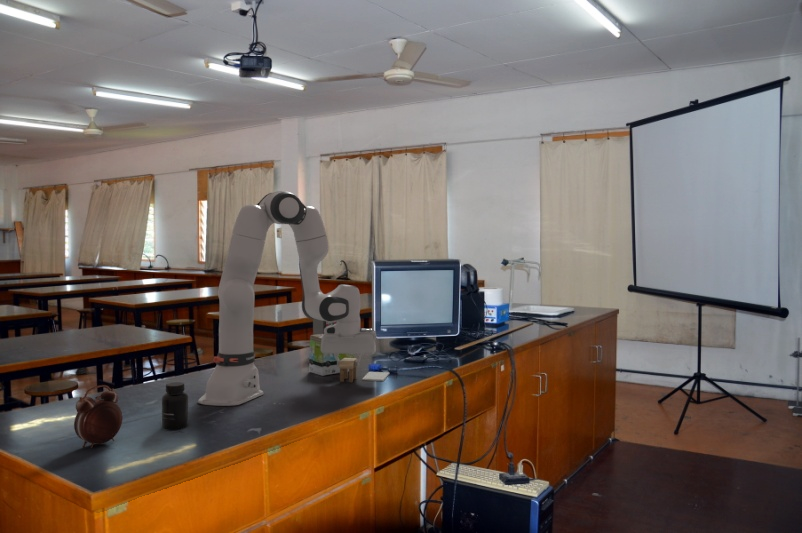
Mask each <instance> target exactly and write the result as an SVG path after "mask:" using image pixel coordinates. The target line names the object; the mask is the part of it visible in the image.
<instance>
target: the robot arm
mask: <svg viewBox="0 0 802 533" xmlns="http://www.w3.org/2000/svg"><path fill="white" fill-rule="evenodd" d="M273 224H277V225H289V227H290V228H291V230H292V232H293V236H294V241H295V245H296V248H297V255H298V267H299V268H298V269H299V275H300V281H301V288H302V300H301V310H302V313H303V314H304V316H306V318H308V319H310V320H312V321H313V320H322V321H327V322H331V321H335V320H337V321H336V324H333V325H330V326H327V327H326V328H325V329H324V333H325V334H324V335H323V337H322V340H321V352H322V353H334V357H335V359H336V360H337V366H339V361H341V360H339V358H338V356H339V354H354V355H357V357H358V358H357V361H355V366H356V367H360V361H361V360H362V358H363V355H374V354H376V351H377V346H376V340H377V331H376V330H374V329H372V328H361V316H360V313H361V312H360V311H361V302H362V301H361V294H360V290H359V288H358V287H357V286H355V285H349V284H338V286H337V287H335V289H333V290H332V291H329V292H327V293H323V291H322V290H321V288H320V282H319V275H318V267H319V264H320V263H322V262H321V261H323V260H324V259H325V258H326V257H327V255H328V253H329V240H328V235H327V232H326V228H325V225H324V222H323V219H322V217H321V214H320V212H319V210H318V209H317V208H316V207H314V206H310V205H305V204H304V203H303V202H302V201H301V200H300V198H299V197H298V196H297V195H296V194H294V193H292V192H290V191H282V190H278V191H273V192H269V193H268V194H266V195H264V196H263V197H262V198H261V199H260V201H258V203H257V204H246V205H244V206H242V207H241V208H240V210H239V211H238V215H237V217H236V219H235V222H234V225H233V230H232V234H231V237H230V241H229V246H228V251H227V255H226V259H225V262H224V265H223V270H222V274H221V277H220V281H219V286H218V288H217V296H218V299H219V309H218V310H219V312H218V313H219V320H218V321H219V322H218V353H217V355H216V356H213V359H212V362H213V363H215V364H216V366H215V367H214V370H213V371H212V372H211V375H210V376H209V379H208V380H207V381H206V383H205V384H206V386H205V393H204V394H203V395H201V397H200V398H199V399H198V401H197V403H198V404H201V405H206V406H223V407H225V406H227V407H228V406H229V407H230V406H239V405H241V404H245V403H247V402H249V401H251V400H253V399H256V398H258V397H261V396H263V395H264V391H263V390H261V387H260V376H259V369H258V368H257V366H256V365H255V356H256V354H255V350H254V320H255V296H256V294H255V290H254V284H255V281H256V277H257V275H258V274H257V273H258V271H259V268H260V265H261V261H262V257H263V253H264V248H265V244H266V239H267V233H268V231H269V229H270V228H271V226H272V225H273Z"/></svg>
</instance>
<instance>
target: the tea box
mask: <svg viewBox="0 0 802 533" xmlns="http://www.w3.org/2000/svg"><path fill="white" fill-rule="evenodd" d="M323 335H324V334H317V335H313V334H310V335H309V353H308V354H309V363H308V364H309V366H308V371H309V373H312V374H315V375H317V376H321V377H323V376H328V375H333V374H334V375H335V374H340V368H339V366H337V360H336V359H335V357H334V353H322V352H321V340H322V337H323ZM338 358H339V360H342V359H343V358H355V354H339V356H338ZM348 373H349V369H348Z"/></svg>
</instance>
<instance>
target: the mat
mask: <svg viewBox="0 0 802 533" xmlns="http://www.w3.org/2000/svg"><path fill="white" fill-rule="evenodd" d="M389 376H390V372H385V371H384V372H382V371H368V372H367V373H366V374H365V375H364V377H362V381H370V382H371V381H372V382H384V381H385V380H386V379H387V378H388V377H389Z"/></svg>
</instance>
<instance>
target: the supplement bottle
mask: <svg viewBox="0 0 802 533" xmlns="http://www.w3.org/2000/svg"><path fill="white" fill-rule="evenodd" d="M165 392H166V393H164V394H163V395H162V397H161V428H162V429H164V430H166V431H178V430H183V429H185V428H187V427H188V424H189V395H188V394H187V392H185V383H184V382H179V381H177V382H175V381H174V382H168V383H166V384H165Z"/></svg>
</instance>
